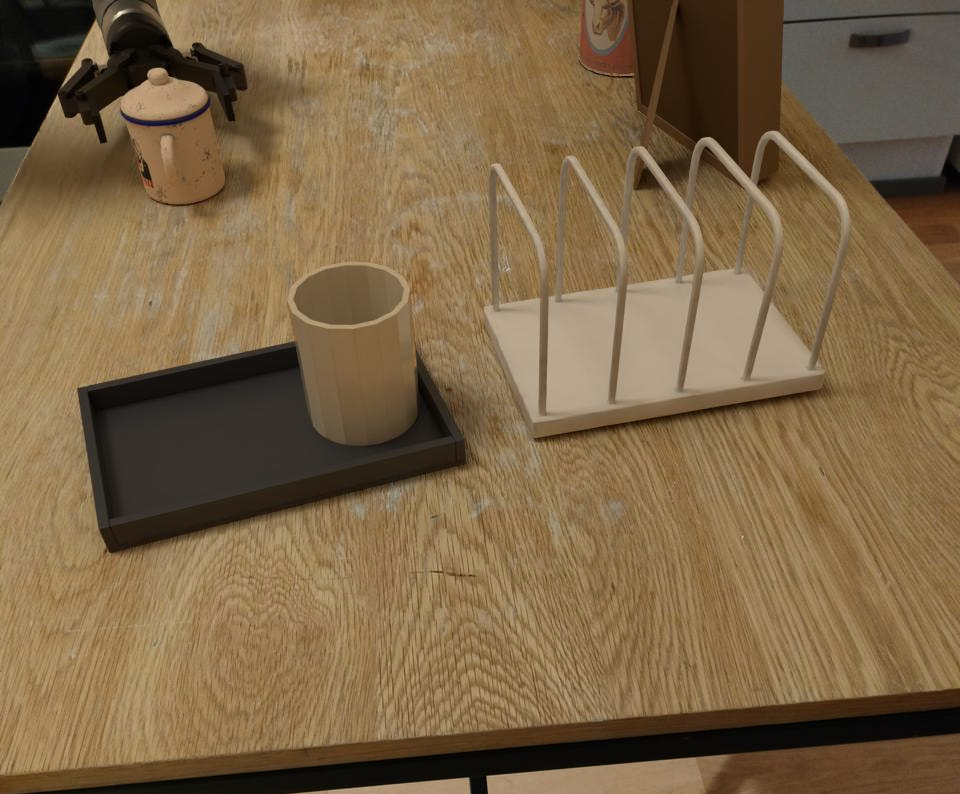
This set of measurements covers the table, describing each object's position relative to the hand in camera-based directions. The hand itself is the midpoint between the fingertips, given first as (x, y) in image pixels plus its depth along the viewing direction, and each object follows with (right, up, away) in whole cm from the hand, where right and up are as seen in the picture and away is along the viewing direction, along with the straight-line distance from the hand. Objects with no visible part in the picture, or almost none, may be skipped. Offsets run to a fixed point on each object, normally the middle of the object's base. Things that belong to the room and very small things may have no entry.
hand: (165, 119), depth 101 cm
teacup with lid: (+1, -7, +3) cm, 7 cm away
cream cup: (+24, -36, -22) cm, 48 cm away
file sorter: (+48, -30, -17) cm, 59 cm away
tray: (+16, -39, -23) cm, 48 cm away
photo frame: (+54, 0, +7) cm, 54 cm away
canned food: (+52, +20, +24) cm, 60 cm away
